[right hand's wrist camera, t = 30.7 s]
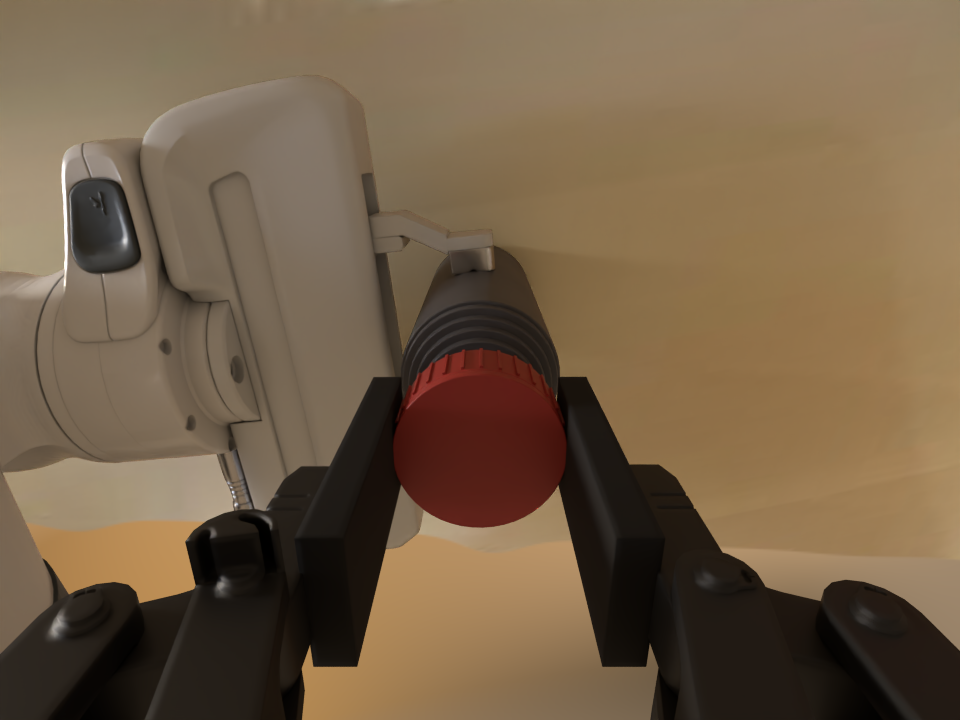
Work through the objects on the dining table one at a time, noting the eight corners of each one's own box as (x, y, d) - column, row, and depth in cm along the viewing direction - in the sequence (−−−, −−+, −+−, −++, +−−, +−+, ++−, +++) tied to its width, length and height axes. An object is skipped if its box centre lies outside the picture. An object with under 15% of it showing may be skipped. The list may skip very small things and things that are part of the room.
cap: (576, 467, 15) (588, 505, 13) (430, 505, 16) (423, 547, 14) (536, 326, 14) (544, 349, 12) (376, 373, 14) (362, 401, 12)
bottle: (427, 333, 30) (372, 513, 15) (436, 238, 28) (384, 330, 13) (520, 344, 30) (562, 533, 15) (535, 250, 28) (602, 356, 13)
